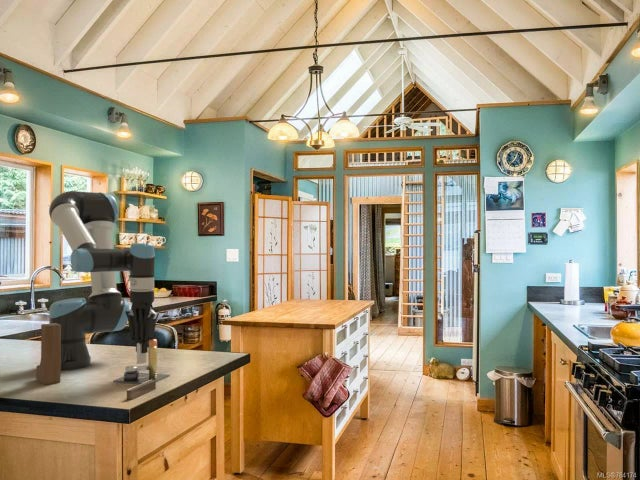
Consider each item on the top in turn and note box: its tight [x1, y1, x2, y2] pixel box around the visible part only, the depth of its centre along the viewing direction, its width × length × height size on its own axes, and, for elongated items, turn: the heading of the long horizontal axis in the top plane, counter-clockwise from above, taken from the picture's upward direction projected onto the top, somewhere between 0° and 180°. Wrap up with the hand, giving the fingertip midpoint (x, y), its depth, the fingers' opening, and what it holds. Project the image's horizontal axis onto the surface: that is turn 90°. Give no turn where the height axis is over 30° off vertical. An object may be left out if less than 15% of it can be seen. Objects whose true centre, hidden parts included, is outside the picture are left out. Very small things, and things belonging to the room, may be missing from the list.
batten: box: [126, 380, 157, 401], centre depth 155 cm, size 2×12×3 cm, turn 165°
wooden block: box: [35, 323, 62, 385], centre depth 170 cm, size 9×4×18 cm, turn 44°
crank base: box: [112, 345, 171, 385], centre depth 173 cm, size 13×12×10 cm
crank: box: [125, 338, 158, 373], centre depth 173 cm, size 10×4×10 cm, turn 120°
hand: (141, 362), depth 177 cm, fingers closed
